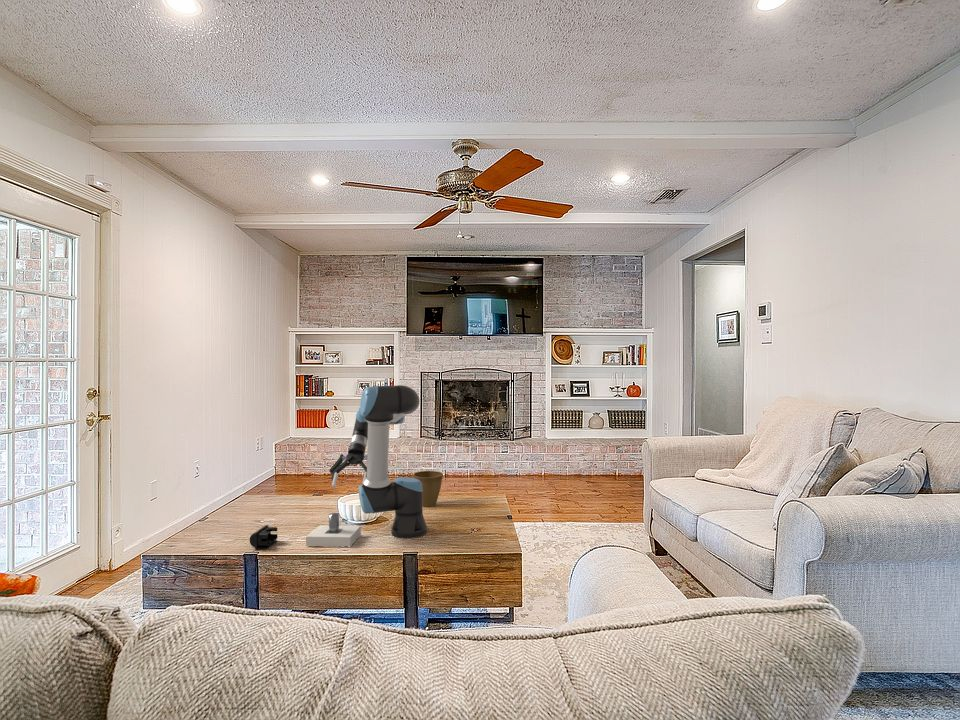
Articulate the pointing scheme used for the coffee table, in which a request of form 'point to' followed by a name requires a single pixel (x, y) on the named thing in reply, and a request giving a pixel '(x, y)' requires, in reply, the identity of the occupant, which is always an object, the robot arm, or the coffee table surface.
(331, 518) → the pin
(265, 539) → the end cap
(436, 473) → the plant pot
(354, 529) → the socket block
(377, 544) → the coffee table surface
